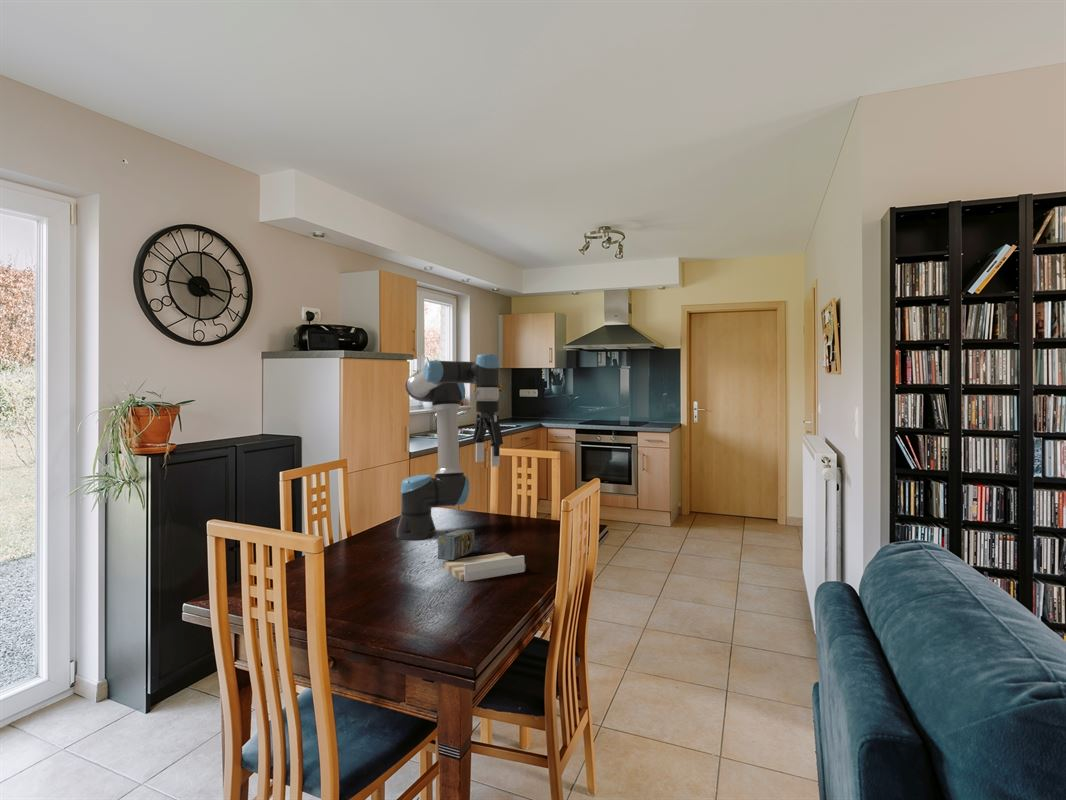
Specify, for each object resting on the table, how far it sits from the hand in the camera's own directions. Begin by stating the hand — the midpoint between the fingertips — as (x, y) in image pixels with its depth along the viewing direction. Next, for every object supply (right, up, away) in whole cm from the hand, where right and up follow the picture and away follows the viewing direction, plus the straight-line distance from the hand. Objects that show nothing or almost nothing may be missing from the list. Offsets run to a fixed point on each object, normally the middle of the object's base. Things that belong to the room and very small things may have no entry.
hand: (487, 464), depth 184 cm
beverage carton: (-8, -34, +11) cm, 37 cm away
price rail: (+4, -33, -14) cm, 36 cm away
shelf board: (-1, -33, -7) cm, 34 cm away
